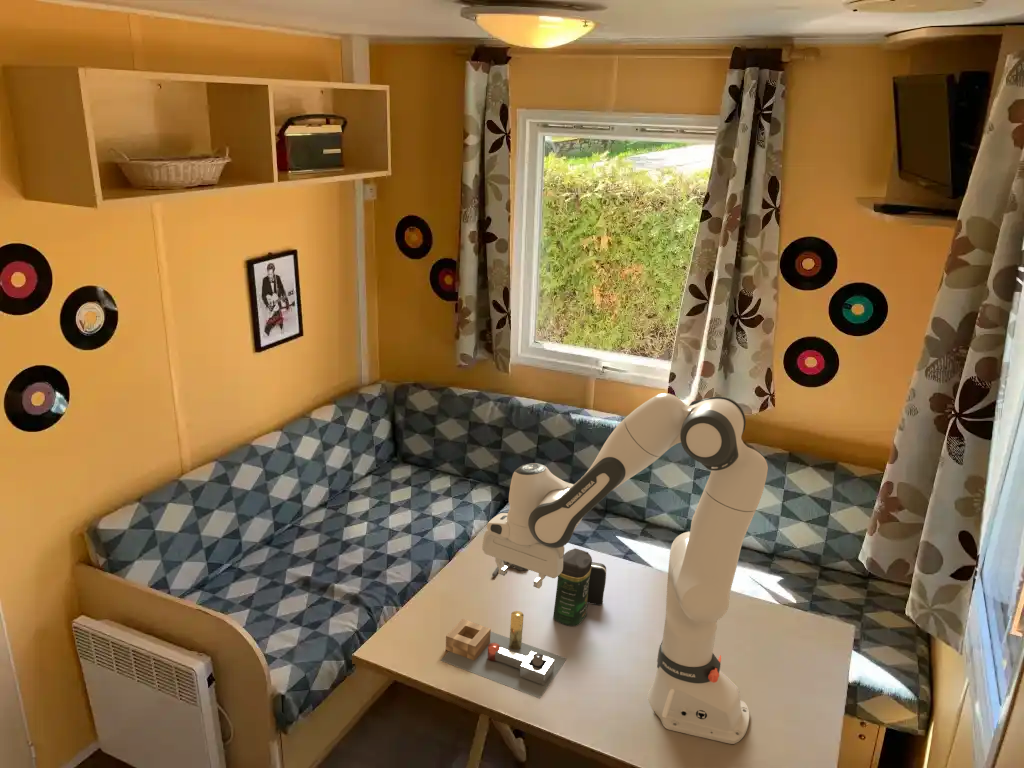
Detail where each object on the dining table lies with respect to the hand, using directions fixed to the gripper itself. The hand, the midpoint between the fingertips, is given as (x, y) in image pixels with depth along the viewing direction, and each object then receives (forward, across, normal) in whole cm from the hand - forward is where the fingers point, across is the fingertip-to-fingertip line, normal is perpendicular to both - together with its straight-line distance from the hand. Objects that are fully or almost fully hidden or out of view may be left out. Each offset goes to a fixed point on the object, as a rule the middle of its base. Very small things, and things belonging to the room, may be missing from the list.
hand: (519, 580), depth 189 cm
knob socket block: (+18, -5, +7) cm, 20 cm away
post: (+18, -10, +7) cm, 22 cm away
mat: (+19, -1, +6) cm, 20 cm away
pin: (+19, 0, 0) cm, 19 cm away
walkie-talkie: (+20, +18, -35) cm, 44 cm away
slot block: (+19, +9, +6) cm, 22 cm away
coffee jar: (+19, -7, -19) cm, 28 cm away
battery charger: (+19, -8, -29) cm, 36 cm away
